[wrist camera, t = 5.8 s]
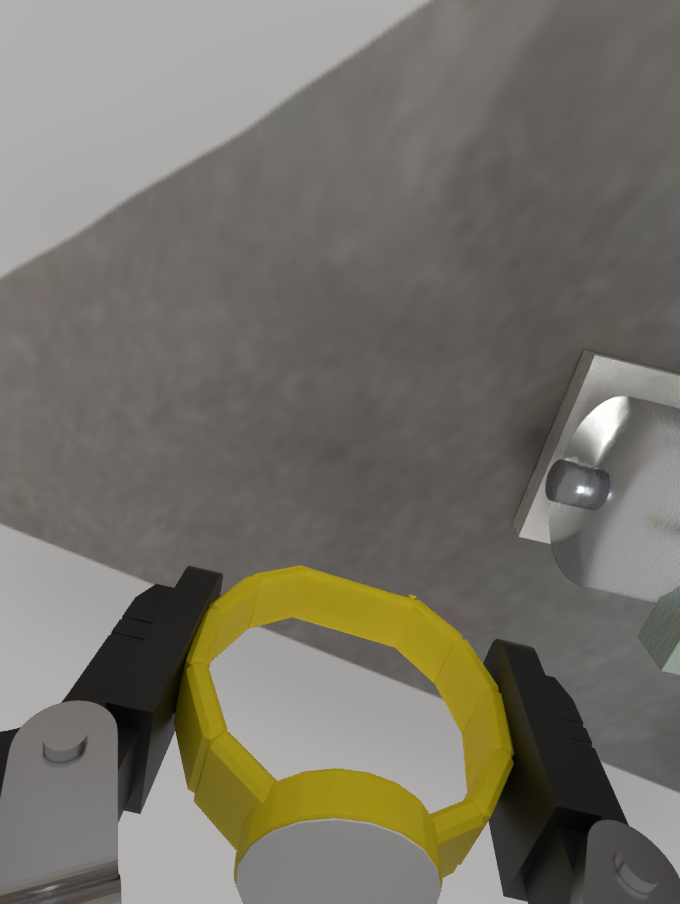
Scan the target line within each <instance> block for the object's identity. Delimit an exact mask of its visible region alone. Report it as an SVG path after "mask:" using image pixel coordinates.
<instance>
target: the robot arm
mask: <svg viewBox="0 0 680 904" xmlns="http://www.w3.org/2000/svg"><path fill="white" fill-rule="evenodd" d="M222 580H223V574H222V573H218V572H214V571H209V570H205V569H201V568H196V567H192V566H188V567H187V568H186V570H185V571H184V573H183V574H182V576H181V578H180V579H179V581H178V583H177V584H176V586H175V588H172V587H168V586H163V585H159V584H155V585H154V586H152V587H151V588H149V589H148V590H146V591H145V592H143V593H142V594H140V595H138V596H137V597H135V599H134V600H133V602H132V603H131V605H130V606H129V607H128V609H127V610H126V612H125V613H124V615H123V617H122V619H121V620H119V622H118V623H117V625H116V626H115V627H114V629H113V631H112V633H111V635H109V636H108V638H107V639H106V640H105V642H104V643H103V645H102V646H101V647H100V649H99V650H98V652H97V653H96V655H95V656H94V658H93V659H92V660H91V662H90V663H89V665H88V666H87V667H86V669H85V670H84V672H83V673H82V675H81V676H80V678H79V679H78V681H77V682H76V683H75V685H74V686H73V688H72V689H71V690H70V692H69V693H68V695H67V696H66V697H65V699H64V700H63V701H62V702H61V703H59V704H56V705H53V706H50V707H48V708H46V709H44V710H42V711H40V712H39V713H37V714H35V715H34V716H33V717H31V718H30V719H29V720H28V721H27V722H26V723H25V724H24V725H23V726H22V727H20V728H17V729H13V730H8V731H2V732H0V904H121V880H120V875H119V874H118V822H119V819H120V817H121V815H122V813H123V811H124V810H125V811H130V812H134V813H138V814H140V813H141V811H142V809H143V806H144V804H145V801H146V799H147V797H148V794H149V792H150V789H151V787H152V785H153V782H154V780H155V777H156V775H157V773H158V770H159V768H160V766H161V763H162V760H163V758H164V756H165V754H166V751H167V749H168V747H169V744H170V742H171V739H172V737H173V735H174V732H175V726H174V722H173V720H174V716H175V712H176V707H177V701H178V695H179V690H180V684H181V679H182V675H183V671H184V667H185V663H186V659H187V656H188V653H189V651H190V648H191V645H192V642H193V640H194V637H195V635H196V633H197V630H198V628H199V626H200V624H201V622H202V619H203V617H204V615H205V613H206V610H207V609H209V605H210V603H212V602H213V601H214V600H216V599H217V598H219V597H220V592H221V586H222ZM483 665H484V666H485V668H486V669H487V671H488V672H489V674H490V675H491V676H492V678H493V679H494V681H495V682H496V684H497V685H498V687H499V693H501V694H502V699H503V703H504V707H505V712H506V716H507V721H508V725H509V729H510V734H511V738H512V743H513V748H514V753H515V754H514V755H513V757H512V760H513V763H514V764H513V767H512V769H511V771H510V774H509V776H508V778H507V781H506V783H505V785H504V787H503V790H502V792H501V794H500V797H499V799H498V801H497V804H496V806H495V808H494V811H493V813H492V815H491V817H490V819H489V825H490V830H491V835H492V840H493V845H494V850H495V855H496V860H497V865H498V870H499V875H500V880H501V885H502V890H503V895H504V896H505V897H509V898H514V899H518V900H523V901H527V902H528V904H680V878H679V876H678V874H677V872H676V871H675V869H674V867H673V866H672V864H671V863H670V862H669V860H668V859H667V857H666V856H665V855H664V854H663V853H662V852H661V851H660V849H659V848H658V847H657V846H656V845H655V844H653V842H651V841H650V840H649V839H648V838H647V837H645V836H644V835H643V834H641V833H640V832H638V831H637V830H636V829H634V828H632V827H630V826H629V825H628V823H627V821H626V818H625V816H624V814H623V812H622V809H621V807H620V805H619V802H618V800H617V798H616V795H615V793H614V791H613V789H612V787H611V785H610V782H609V780H608V778H607V775H606V774H605V771H604V768H603V766H602V764H601V762H600V759H599V757H598V755H597V753H596V750H595V748H592V741H591V739H590V737H589V735H588V732H587V730H586V728H583V721H582V719H581V717H580V714H579V712H578V710H577V708H576V705H575V703H574V701H573V699H572V698H571V697H570V696H569V694H568V693H567V692H566V691H565V689H564V688H563V687H562V686H561V685H560V683H559V682H558V681H557V680H556V679H555V677H550V676H546V675H545V673H544V670H543V668H542V665H541V663H540V661H539V658H538V656H537V653H536V651H535V650H534V648H533V647H530V646H526V645H522V644H518V643H514V642H509V641H505V640H501V639H496V640H495V641H494V642H493V643H492V645H491V647H490V649H489V651H488V654H487V656H486V658H485V660H484V663H483Z"/></svg>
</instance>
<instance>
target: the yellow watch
mask: <svg viewBox="0 0 680 904" xmlns="http://www.w3.org/2000/svg"><path fill="white" fill-rule="evenodd" d="M415 598H416V596H414V595H410V594H409V597H408V598H407V597H404V596H401V595H397V594H394V593H391V592H387V591H384V590H381V589H378V588H374V587H371V586H368V585H364V584H361V583H358V582H354V581H351V580H348V579H344V578H341V577H338V576H334V575H331V574H328V573H324V572H321V571H318V570H314V569H311V568H308V567H304V566H303V565H300V566H295V567H289V568H284V569H278V570H273V571H267V572H262V573H257V574H254V575H253V576H252V577H251V576H249V577H246V578H244V579H243V580H242V581H240V582H239V583H238V584H236V585H235V586H234V587H232V588H231V589H229V590H228V591H227V592H225V593H224V594H223V595H221V596H220V597H219V598H217V599H216V600H214V601H213V602H212V603H210V605H209V609H207V610H206V613H205V615H204V617H203V619H202V622H201V624H200V626H199V628H198V630H197V633H196V635H195V637H194V640H193V642H192V645H191V648H190V651H189V653H188V656H187V659H186V663H185V667H184V671H183V675H182V679H181V684H180V690H179V695H178V701H177V707H176V712H175V716H174V720H173V722H174V726H175V731H176V736H177V740H178V745H179V750H180V754H181V759H182V764H183V768H184V773H185V778H186V782H187V787H188V789H189V790H190V791H192V792H194V793H195V797H194V802H195V803H196V804H197V805H198V807H199V808H200V809H201V810H202V811H203V812H204V814H205V815H206V816H207V817H208V818H209V819H210V820H211V822H212V823H213V824H214V825H215V826H216V827H217V829H218V830H219V831H220V832H221V833H222V834H223V836H224V837H225V838H226V839H227V840H228V841H229V842H230V844H231V845H232V846H233V847H234V848H235V849H236V850H237V853H236V859H235V869H234V880H235V884H236V887H237V890H238V892H239V894H240V897H241V899H242V902H243V904H437V901H438V898H439V895H440V892H441V887H442V878H443V877H445V876H447V875H449V874H451V873H453V872H454V870H455V868H456V867H457V865H458V864H461V863H462V861H463V860H464V858H465V856H466V855H467V854H468V852H469V850H470V849H471V847H472V846H473V844H474V842H475V841H476V839H477V838H478V836H479V835H480V833H481V831H482V830H483V828H484V827H485V825H486V823H487V822H488V820H489V819H490V817H491V815H492V813H493V811H494V808H495V806H496V804H497V801H498V799H499V797H500V794H501V792H502V790H503V787H504V785H505V783H506V781H507V778H508V776H509V774H510V771H511V769H512V767H513V764H514V763H513V760H512V757H513V755H514V754H515V753H514V748H513V743H512V738H511V734H510V729H509V725H508V721H507V716H506V712H505V707H504V703H503V699H502V694H501V693H499V687H498V685H497V684H496V682H495V681H494V679H493V678H492V676H491V675H490V674H489V672H488V671H487V669H486V668H485V666H484V665H483V663H482V662H481V660H480V659H479V657H478V656H477V654H476V653H475V651H474V650H473V648H472V647H471V645H470V644H469V642H468V641H467V640H463V638H462V635H461V633H460V632H458V631H457V630H456V629H455V628H453V627H452V626H451V625H450V624H448V623H447V622H446V621H445V620H443V619H442V618H441V617H440V616H439V615H437V614H436V613H435V612H434V611H432V610H431V609H430V608H429V607H427V606H426V605H425V604H424V603H423V602H421V601H420V600H414V599H415ZM291 617H294V618H297V619H301V620H304V621H307V622H311V623H314V624H317V625H321V626H324V627H328V628H331V629H334V630H338V631H341V632H344V633H348V634H351V635H355V636H358V637H361V638H365V639H368V640H371V641H375V642H378V643H381V644H385V645H388V646H392V647H395V648H396V649H397V650H398V651H399V652H400V653H401V654H403V655H404V656H405V657H406V658H407V659H408V660H409V661H410V662H411V663H412V664H414V665H415V666H416V667H417V668H418V669H419V670H420V671H421V672H422V673H423V674H424V675H426V676H427V677H428V678H429V679H430V680H431V681H432V682H433V683H435V685H436V687H437V689H438V691H439V693H440V694H441V696H442V698H443V700H444V702H445V703H446V705H447V707H448V709H449V710H450V712H451V714H452V716H453V718H454V720H455V722H456V723H457V725H458V727H459V729H460V730H461V732H462V738H463V749H464V759H465V770H466V782H467V792H468V793H467V794H466V796H465V798H464V800H463V801H462V802H459V803H457V804H454V805H452V806H449V807H447V808H444V809H442V810H439V811H437V812H434V813H432V814H429V813H428V811H427V810H426V808H425V807H424V805H423V804H422V803H421V801H420V800H419V799H418V798H416V797H415V796H414V795H413V794H411V793H410V792H408V791H407V790H406V789H404V788H403V787H402V786H400V785H399V784H397V783H395V782H392V781H390V780H387V779H384V778H381V777H379V776H376V775H373V774H371V773H367V772H360V771H352V770H344V769H326V770H316V771H306V772H302V773H299V774H296V775H294V776H291V777H288V778H285V779H282V780H280V781H277V780H276V779H275V778H274V777H272V775H271V774H270V773H269V772H268V771H267V770H266V769H264V767H263V766H262V765H261V764H260V763H259V762H258V761H257V760H256V759H255V758H254V757H253V756H252V755H251V754H250V753H249V752H248V751H247V750H246V749H245V748H244V747H243V746H242V745H241V744H240V743H239V742H238V741H237V740H236V739H235V738H234V737H233V736H232V735H231V734H230V733H229V732H227V727H226V723H225V720H224V717H223V714H222V710H221V707H220V704H219V700H218V697H217V694H216V690H215V687H214V684H213V681H212V677H211V674H210V671H209V666H210V663H211V661H212V660H213V659H214V658H215V657H217V656H218V655H219V654H220V653H221V652H222V651H223V650H225V649H226V648H227V647H228V646H229V645H230V644H231V643H232V642H234V641H235V640H236V639H237V638H238V637H239V636H240V635H241V634H243V633H244V632H245V631H246V630H247V629H248V628H253V627H257V626H260V625H264V624H268V623H272V622H276V621H280V620H284V619H287V618H291Z"/></svg>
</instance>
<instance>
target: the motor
mask: <svg viewBox="0 0 680 904" xmlns="http://www.w3.org/2000/svg"><path fill="white" fill-rule="evenodd" d="M512 525H513V527H514V528H515V530H516V532H517V534H518V536H519V537H523V538H527V539H531V540H536V541H540V542H544V543H548V544H551V546H552V550H553V554H554V557H555V560H556V562H557V564H558V566H559V568H560V569H561V571H562V572H563V574H564V575H565V576H566V577H567V578H568V579H569V580H570V581H572V582H573V583H575V584H577V585H580V586H583V587H587V588H592V589H596V590H600V591H605V592H609V593H613V594H618V595H622V596H626V597H631V598H635V599H639V600H644V601H648V602H652V603H656V604H655V606H654V608H653V609H652V611H651V613H650V615H649V616H648V618H647V620H646V622H645V623H644V625H643V627H642V629H641V630H640V632H639V634H638V636H637V637H638V638H639V639H640V641H641V642H642V644H643V645H644V647H645V648H646V649H647V651H648V652H649V654H650V655H651V657H652V658H653V660H654V661H655V662H656V664H657V665H658V667H659V668H660V670H661V671H665V672H669V673H673V674H678V675H680V374H679V373H675V372H671V371H667V370H663V369H659V368H655V367H651V366H647V365H643V364H639V363H635V362H631V361H627V360H622V359H618V358H614V357H610V356H606V355H602V354H598V353H594V352H590V351H586V350H583V353H582V355H581V358H580V360H579V363H578V365H577V367H576V370H575V372H574V375H573V377H572V380H571V382H570V384H569V387H568V389H567V392H566V394H565V397H564V399H563V401H562V404H561V406H560V409H559V411H558V414H557V416H556V418H555V421H554V423H553V426H552V428H551V431H550V433H549V436H548V438H547V440H546V443H545V445H544V448H543V450H542V453H541V455H540V457H539V460H538V462H537V465H536V467H535V470H534V472H533V474H532V477H531V479H530V482H529V484H528V487H527V489H526V491H525V494H524V496H523V499H522V501H521V504H520V506H519V508H518V511H517V513H516V516H515V518H514V521H513V523H512Z"/></svg>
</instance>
